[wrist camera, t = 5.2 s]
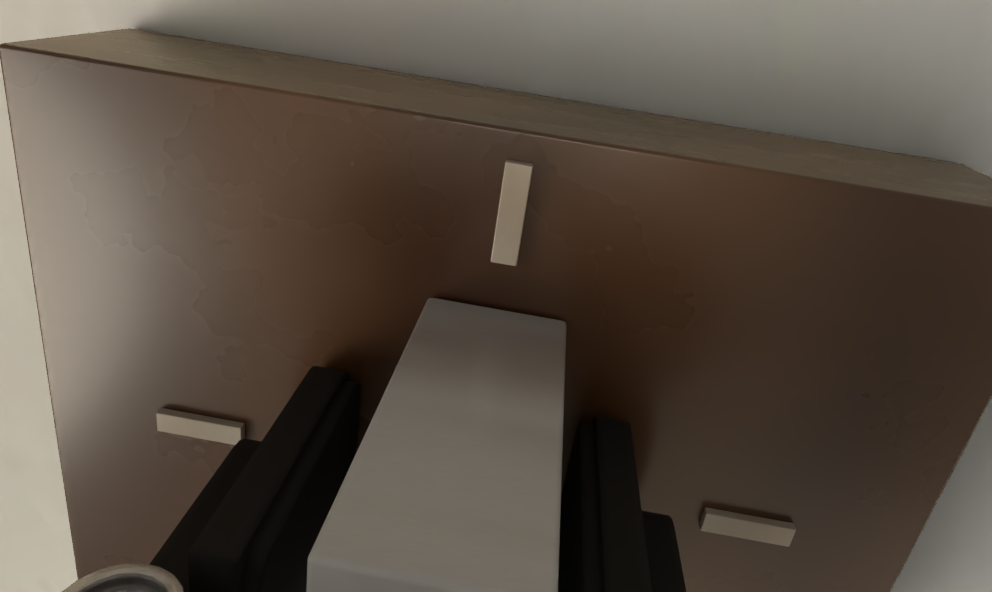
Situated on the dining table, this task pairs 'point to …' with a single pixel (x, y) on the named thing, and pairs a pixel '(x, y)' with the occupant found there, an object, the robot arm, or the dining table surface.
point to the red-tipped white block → (456, 464)
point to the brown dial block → (497, 289)
